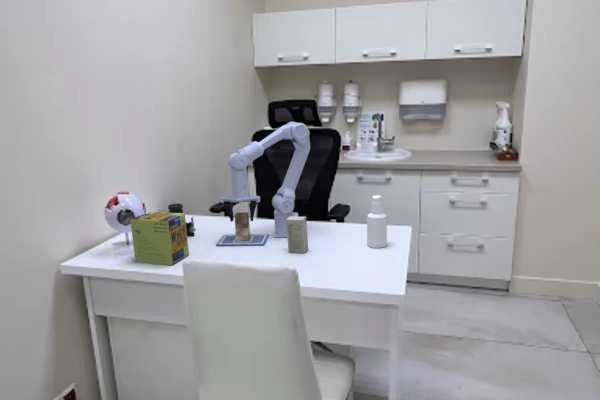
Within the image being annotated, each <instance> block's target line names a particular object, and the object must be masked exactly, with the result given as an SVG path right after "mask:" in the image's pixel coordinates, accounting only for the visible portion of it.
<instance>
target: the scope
mask: <svg viewBox="0 0 600 400" xmlns="http://www.w3.org/2000/svg"><path fill="white" fill-rule="evenodd" d="M183 207H184V206H183V204H182V203H172V204H169V205H168V206H167V208H168V213H184V210H183V209H184V208H183ZM186 230H187V238H189V237H193V236H195V232H196V230H197V229H196V227H195V222H194V217H193V216H192V217H190V221H189V222H186Z"/></svg>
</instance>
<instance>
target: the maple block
mask: <svg viewBox="0 0 600 400" xmlns="http://www.w3.org/2000/svg"><path fill="white" fill-rule="evenodd" d="M234 230H235V235H236V241H248V240H249V239H250V234H251V228H250V225H249V226H248V228H243V229H234Z"/></svg>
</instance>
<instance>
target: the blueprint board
mask: <svg viewBox="0 0 600 400" xmlns="http://www.w3.org/2000/svg"><path fill="white" fill-rule="evenodd" d="M269 236H270V233H258V234H257V233H254V234H253V233H250V239H249V240H248V241H236V234H223V236H221V238H220V239H219V241H218V242H217V243H216V247H250V246H251V247H257V246H258V247H261V246H263V247H265V245H266V243H267V241H268V239H269Z"/></svg>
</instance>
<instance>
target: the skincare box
mask: <svg viewBox="0 0 600 400" xmlns="http://www.w3.org/2000/svg"><path fill="white" fill-rule="evenodd" d="M286 226H287V237H286V238H287V247H288V248H287V249H288V253H295V254H306V253H307V251H308V250H309V241H308V226H307V216H298V217H297V216H290V217H289V218H287V219H286Z"/></svg>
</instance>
